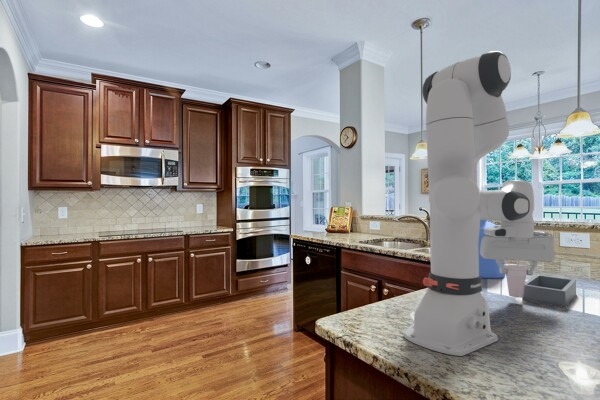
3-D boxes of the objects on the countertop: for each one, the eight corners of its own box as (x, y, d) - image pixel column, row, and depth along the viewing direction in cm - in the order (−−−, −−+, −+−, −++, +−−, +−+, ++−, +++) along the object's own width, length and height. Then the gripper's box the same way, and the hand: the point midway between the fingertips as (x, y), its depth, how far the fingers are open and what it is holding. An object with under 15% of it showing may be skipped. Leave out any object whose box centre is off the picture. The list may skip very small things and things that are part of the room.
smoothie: (528, 299, 95) (528, 253, 96) (503, 296, 99) (503, 251, 99) (527, 295, 100) (527, 251, 101) (504, 292, 104) (503, 250, 105)
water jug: (469, 278, 132) (468, 212, 133) (460, 270, 148) (458, 211, 148) (511, 279, 129) (509, 211, 129) (497, 271, 144) (495, 210, 144)
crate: (565, 307, 94) (565, 291, 94) (522, 299, 102) (521, 284, 103) (576, 294, 107) (576, 279, 108) (537, 288, 116) (536, 274, 116)
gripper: (548, 231, 101) (547, 274, 101) (478, 229, 105) (478, 270, 105) (559, 233, 95) (559, 278, 95) (485, 230, 99) (485, 274, 99)
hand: (515, 274), depth 100 cm, fingers closed on smoothie, 6 cm apart
